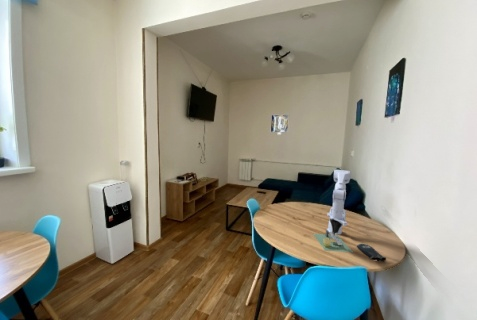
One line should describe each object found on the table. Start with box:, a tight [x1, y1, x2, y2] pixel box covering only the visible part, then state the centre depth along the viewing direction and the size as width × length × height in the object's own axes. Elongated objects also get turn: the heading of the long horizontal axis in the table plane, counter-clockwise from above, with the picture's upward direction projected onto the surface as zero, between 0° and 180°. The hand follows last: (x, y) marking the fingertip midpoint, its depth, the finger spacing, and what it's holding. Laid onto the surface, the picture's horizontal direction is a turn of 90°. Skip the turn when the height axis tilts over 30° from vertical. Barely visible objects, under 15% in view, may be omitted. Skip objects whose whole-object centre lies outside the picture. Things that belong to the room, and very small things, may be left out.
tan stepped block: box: [323, 238, 336, 248], centre depth 117 cm, size 3×6×4 cm, turn 88°
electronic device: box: [356, 243, 387, 262], centre depth 113 cm, size 9×6×15 cm
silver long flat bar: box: [328, 232, 342, 245], centre depth 122 cm, size 14×2×1 cm, turn 178°
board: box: [313, 229, 354, 253], centre depth 122 cm, size 20×16×5 cm
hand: (335, 232), depth 117 cm, fingers closed
